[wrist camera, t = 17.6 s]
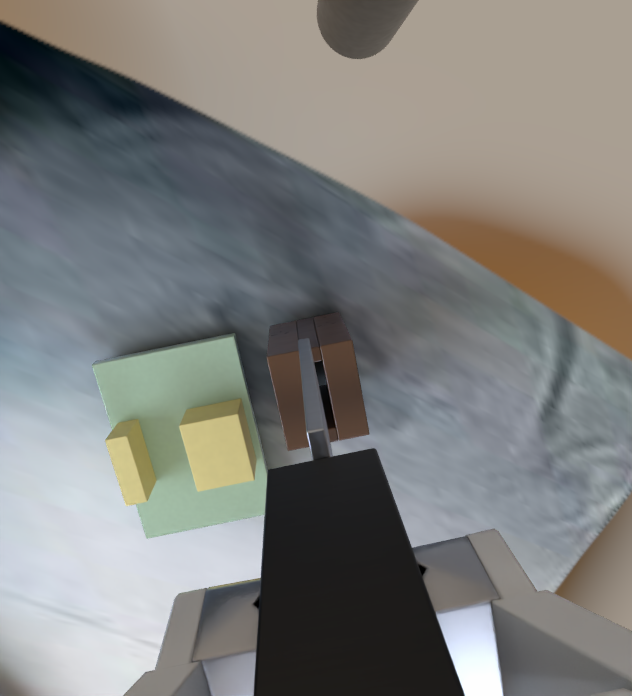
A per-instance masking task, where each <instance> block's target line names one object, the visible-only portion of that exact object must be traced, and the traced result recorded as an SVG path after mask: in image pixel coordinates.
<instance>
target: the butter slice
mask: <svg viewBox="0 0 632 696" xmlns="http://www.w3.org/2000/svg"><path fill="white" fill-rule="evenodd" d="M105 442H106V445H107V448H108V451H109V454H110V457H111V461H112V464H113V467H114V470H115V473H116V476H117V479H118V482H119V486H120V489H121V492H122V495H123V498H124V501H125V504H126V506H129V505H134V504H139V503H144V502H147V501H148V499H149V497H150V494H151V492H152V490H153V488H154V486H155V483H156V481H157V480H156V477H155V473H154V470H153V467H152V463H151V460H150V457H149V453H148V450H147V447H146V443H145V440H144V437H143V433H142V430H141V427H140V423H139V420H138V419H135V420H130V421H125V422H120V423H117V425H116V426H115V427H114V429H113V430H112V432H111V433H110V434H109V436H108V437H107V438H106V440H105Z"/></svg>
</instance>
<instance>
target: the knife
mask: <svg viewBox="0 0 632 696" xmlns="http://www.w3.org/2000/svg"><path fill="white" fill-rule="evenodd" d="M298 347H299V358H300V368H301V379H302V390H303V401H304V411H305V422H306V433H307V438H308V442H309V447H310V452H311V456H312V461H309V462H304V463H299V464H294V465H289V466H284V467H279V468H274V469H270V470H268V472H267V485H266V501H265V517H264V533H263V549H262V566H261V582H260V598H259V614H258V630H257V646H256V662H255V679H254V695H253V696H465V694H464V691H463V688H462V685H461V683H460V680H459V677H458V674H457V671H456V669H455V666H454V663H453V660H452V658H451V655H450V652H449V649H448V647H447V644H446V641H445V638H444V635H443V633H442V630H441V627H440V624H439V622H438V619H437V616H436V613H435V611H434V608H433V605H432V602H431V599H430V597H429V594H428V591H427V588H426V586H425V583H424V580H423V577H422V575H421V572H420V569H419V566H418V564H417V561H416V558H415V555H414V552H413V550H412V547H411V544H410V541H409V539H408V536H407V533H406V530H405V528H404V525H403V522H402V519H401V516H400V514H399V511H398V508H397V505H396V503H395V500H394V497H393V494H392V492H391V489H390V486H389V483H388V480H387V478H386V475H385V472H384V469H383V467H382V464H381V461H380V458H379V456H378V453H377V450H376V449H374V448H372V449H367V450H363V451H358V452H353V453H348V454H343V455H338V456H333V455H332V449H331V444H330V438H329V433H328V428H327V423H326V418H325V413H324V408H323V403H322V398H321V394H320V389H319V384H318V379H317V374H316V369H315V364H314V360H313V355H312V350H311V345H310V340H309V338H305V339H300V340H298Z"/></svg>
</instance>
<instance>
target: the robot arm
mask: <svg viewBox="0 0 632 696" xmlns="http://www.w3.org/2000/svg"><path fill="white" fill-rule="evenodd" d="M412 550H413V552H414V555H415V558H416V561H417V564H418V566H419V569H420V572H421V575H422V577H423V580H424V583H425V586H426V588H427V591H428V594H429V597H430V599H431V602H432V605H433V608H434V611H435V613H436V616H437V619H438V622H439V624H440V627H441V630H442V633H443V635H444V638H445V641H446V644H447V647H448V649H449V652H450V655H451V658H452V660H453V663H454V666H455V669H456V671H457V674H458V677H459V680H460V683H461V685H462V688H463V691H464V694H465V696H632V631H631V630H628V629H627V628H625V627H622V626H620V625H618V624H616V623H614V622H612V621H610V620H608V619H606V618H604V617H602V616H600V615H597V614H595V613H593V612H591V611H589V610H587V609H585V608H583V607H581V606H579V605H577V604H574V603H573V602H571V601H568V600H566V599H564V598H562V597H560V596H558V595H556V594H554V593H552V592H550V591H548V590H544V591H539V592H537V590H536V589H535V587H534V585H533V584H532V582H531V581H530V579H529V578H528V576H527V575H526V573H525V572H524V570H523V568H522V567H521V565H520V564H519V562H518V561H517V559H516V558H515V556H514V555H513V553H512V551H511V550H510V548H509V547H508V545H507V544H506V542H505V541H504V539H503V538H502V536H501V534H500V533H499V531H497V530H495V529H490V530H486V531H481V532H477V533H473V534H469V535H465V536H464V537H460V538H455V539H451V540H446V541H441V542H437V543H432V544H427V545H423V546H418V547H413V548H412ZM260 582H261V578H258V579H253V580H247V581H241V582H236V583H230V584H225V585H219V586H214V587H209V588H208V589H207V588H204V589H199V590H194V591H189V592H184V593H179V594H178V595H177V596H176V598H175V599H174V602H173V606H172V609H171V613H170V616H169V620H168V624H167V627H166V631H165V635H164V638H163V642H162V645H161V649H160V653H159V656H158V660H157V664H156V667H155V670H153V671H149V672H145V673H144V674H143V675H142V676H141V678H140V679H139V680H138V681H137V682H136V683H135V684H134V685H133V686H132V687H131V688H130V689H129V690H128V691H127V692H126V693H125V694H124V695H123V696H253V695H254V679H255V662H256V646H257V630H258V614H259V598H260Z"/></svg>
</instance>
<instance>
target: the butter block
mask: <svg viewBox="0 0 632 696" xmlns="http://www.w3.org/2000/svg"><path fill="white" fill-rule="evenodd" d="M179 428H180V431H181V435H182V439H183V442H184V446H185V449H186V453H187V456H188V460H189V463H190V467H191V471H192V474H193V478H194V481H195V485H196V488H197V491H198V492H199V491H204V490H209V489H214V488H219V487H224V486H229V485H234V484H239V483H244V482H249V481H254V480H255V471H256V462H257V460H256V456H255V452H254V448H253V444H252V439H251V435H250V431H249V427H248V423H247V419H246V415H245V411H244V407H243V403H242V399H241V398H240V399H235V400H230V401H225V402H221V403H216V404H211V405H206V406H201V407H196V408H191V409H187V410H186V412H185V414H184V416H183V418H182V420H181V423H180V425H179Z"/></svg>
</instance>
